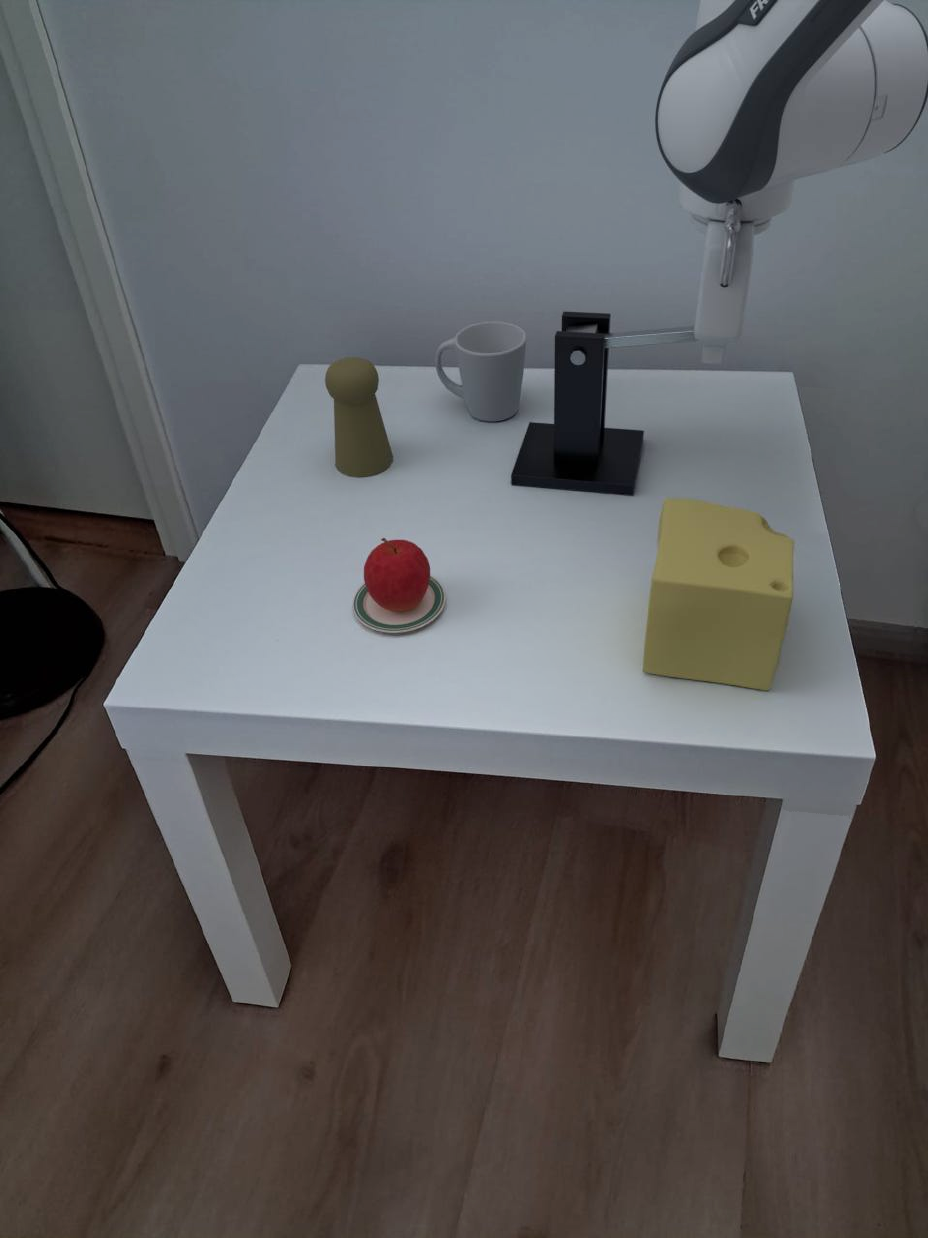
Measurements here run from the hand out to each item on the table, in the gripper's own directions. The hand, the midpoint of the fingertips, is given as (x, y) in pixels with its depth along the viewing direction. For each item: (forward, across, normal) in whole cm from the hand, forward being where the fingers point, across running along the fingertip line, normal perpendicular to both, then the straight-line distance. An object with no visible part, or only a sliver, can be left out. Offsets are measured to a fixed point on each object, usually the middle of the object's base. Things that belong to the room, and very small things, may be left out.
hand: (713, 342), depth 83 cm
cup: (+14, +9, +24) cm, 29 cm away
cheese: (+14, -24, -2) cm, 28 cm away
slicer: (+14, 0, +12) cm, 18 cm away
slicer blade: (+1, 0, +6) cm, 6 cm away
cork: (+14, -3, +34) cm, 37 cm away
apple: (+14, -24, +24) cm, 37 cm away
